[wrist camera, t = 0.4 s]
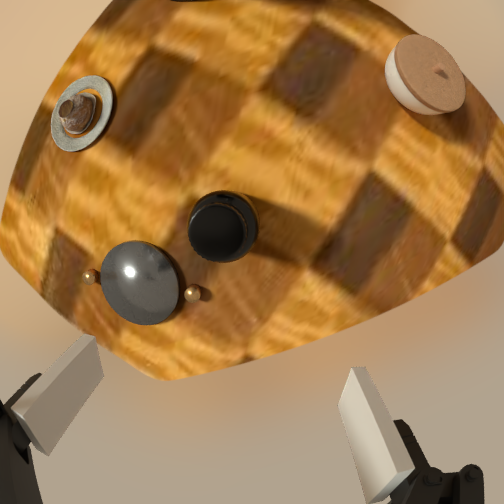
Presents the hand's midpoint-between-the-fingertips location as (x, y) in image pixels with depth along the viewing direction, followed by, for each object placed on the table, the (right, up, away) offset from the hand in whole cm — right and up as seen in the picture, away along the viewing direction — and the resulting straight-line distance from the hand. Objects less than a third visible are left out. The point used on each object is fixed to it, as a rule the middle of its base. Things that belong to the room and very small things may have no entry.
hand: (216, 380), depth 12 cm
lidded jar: (+23, +29, +16) cm, 41 cm away
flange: (-14, +2, +23) cm, 27 cm away
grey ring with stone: (-23, +27, +18) cm, 40 cm away
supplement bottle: (-1, +10, +21) cm, 24 cm away
